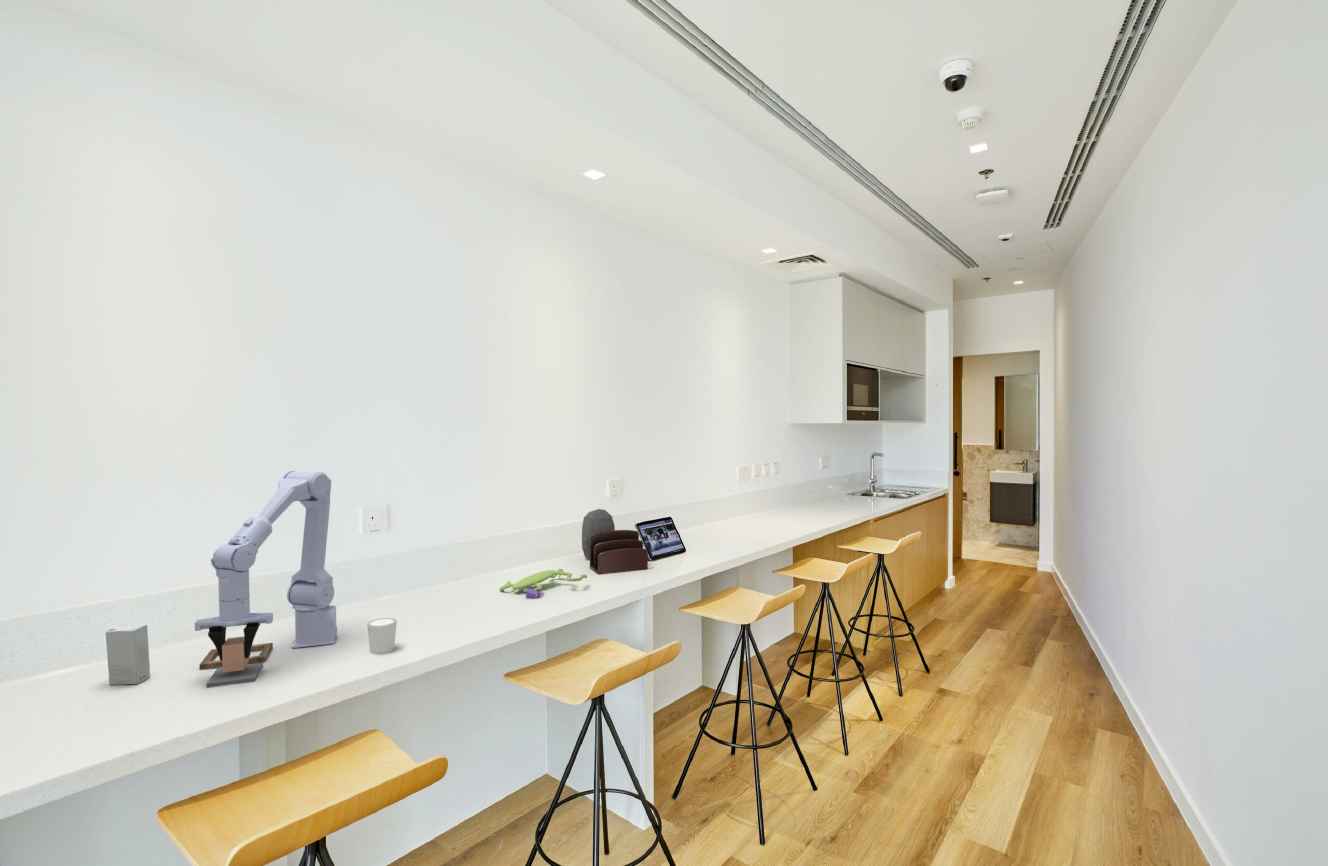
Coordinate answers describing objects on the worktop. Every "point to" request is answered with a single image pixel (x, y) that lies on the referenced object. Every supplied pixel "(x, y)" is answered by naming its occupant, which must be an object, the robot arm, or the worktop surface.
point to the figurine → (536, 579)
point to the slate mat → (235, 675)
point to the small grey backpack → (595, 527)
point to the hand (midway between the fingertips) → (235, 657)
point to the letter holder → (617, 552)
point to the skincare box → (128, 654)
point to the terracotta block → (234, 654)
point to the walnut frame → (264, 654)
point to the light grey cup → (381, 635)
